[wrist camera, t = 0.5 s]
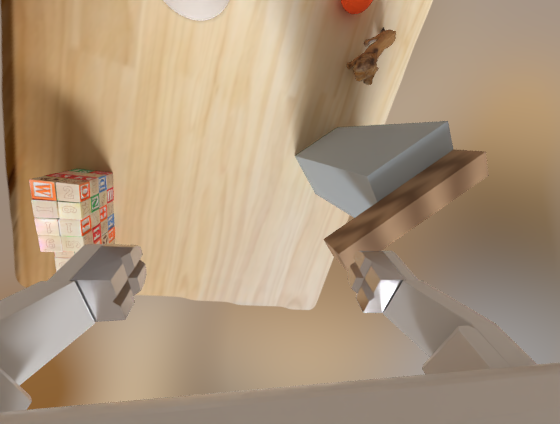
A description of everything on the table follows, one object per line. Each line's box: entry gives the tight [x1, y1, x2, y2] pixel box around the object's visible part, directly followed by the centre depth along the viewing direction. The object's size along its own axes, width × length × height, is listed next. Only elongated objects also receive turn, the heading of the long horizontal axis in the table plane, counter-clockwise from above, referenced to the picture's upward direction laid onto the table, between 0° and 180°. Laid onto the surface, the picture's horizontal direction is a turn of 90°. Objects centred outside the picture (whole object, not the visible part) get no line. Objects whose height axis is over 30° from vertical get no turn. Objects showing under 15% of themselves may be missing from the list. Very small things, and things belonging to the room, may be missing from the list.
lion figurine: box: [347, 27, 396, 85], centre depth 47 cm, size 15×5×9 cm, turn 145°
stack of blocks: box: [29, 169, 115, 271], centre depth 42 cm, size 21×6×12 cm, turn 168°
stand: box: [295, 121, 453, 218], centre depth 44 cm, size 13×12×29 cm
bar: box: [324, 150, 488, 271], centre depth 28 cm, size 22×4×4 cm, turn 120°
